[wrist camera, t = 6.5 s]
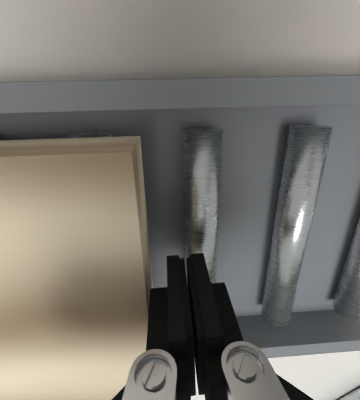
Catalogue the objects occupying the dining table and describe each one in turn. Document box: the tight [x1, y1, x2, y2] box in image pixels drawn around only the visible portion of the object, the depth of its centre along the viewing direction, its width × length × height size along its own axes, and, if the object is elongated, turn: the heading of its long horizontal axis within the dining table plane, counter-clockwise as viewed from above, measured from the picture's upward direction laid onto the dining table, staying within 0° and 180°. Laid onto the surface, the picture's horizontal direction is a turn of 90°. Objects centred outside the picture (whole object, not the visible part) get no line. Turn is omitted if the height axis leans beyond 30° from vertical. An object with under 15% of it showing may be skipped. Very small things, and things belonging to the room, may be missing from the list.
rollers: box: [69, 124, 360, 327], centre depth 13 cm, size 12×22×2 cm, turn 91°
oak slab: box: [0, 136, 153, 400], centre depth 11 cm, size 12×8×3 cm, turn 1°
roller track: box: [0, 75, 360, 359], centre depth 14 cm, size 16×24×4 cm, turn 91°
